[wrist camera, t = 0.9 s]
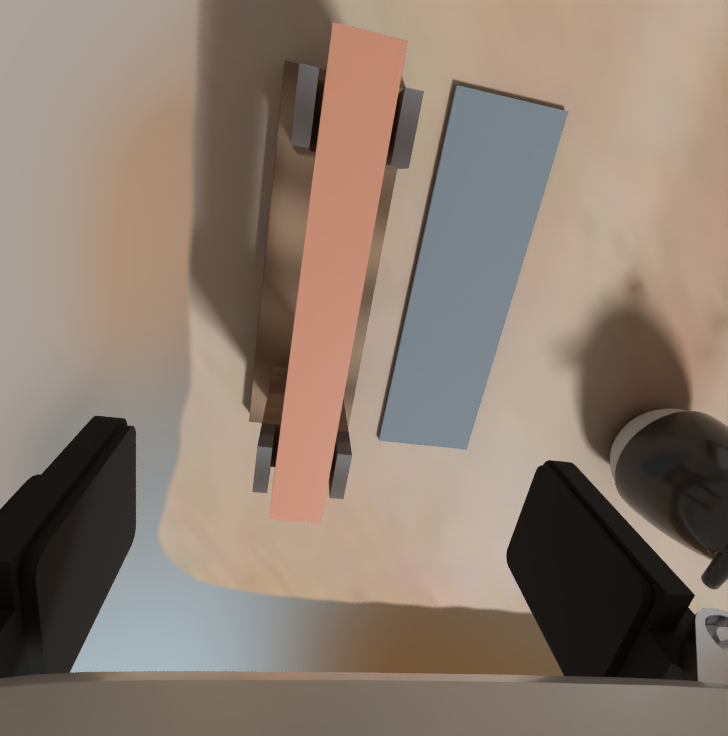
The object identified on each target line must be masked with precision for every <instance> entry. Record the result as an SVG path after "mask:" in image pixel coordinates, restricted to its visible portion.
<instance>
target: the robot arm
mask: <svg viewBox="0 0 728 736" xmlns="http://www.w3.org/2000/svg"><path fill="white" fill-rule="evenodd" d="M135 529H136V431H135V428H134V426H127V422H126V420H125V419H124V418H114V417H104V416H94V417H93V418H92V419H91V420H90V421H89V423H87V425H86V426H85V427H84V428H83V429H82V430H81V431H80V432H79V434H78V435H77V436H76V437H75V438H74V439H73V440H72V441H71V442H70V443H69V444H68V446H67V447H66V448H65V449H64V450H63V451H62V452H61V453H60V454H59V456H58V457H57V458H56V459H55V460H54V461H53V462H52V464H51V465H49V467H48V468H47V469H46V470H45V471H44V472H43V473H42V474H41V475H35V476H32V477H31V478H30V479H29V480H27V481H26V482H25V483H24V484H23V485H22V487H21V488H20V489H19V490H18V491H17V492H16V493H15V494H14V495H13V496H12V497H11V498H10V499H9V500H8V502H7V503H6V504H5V505H4V506H3V507H2V508H1V509H0V736H728V612H726V611H723V610H719V609H714V608H703V609H701V610H700V611H698V612H697V613H696V615H694V613H693V612H692V611H691V610H690V609H689V608H688V606H689V605H690V603H691V601H692V599H693V598H694V596H695V595H694V594H693V593H692V592H691V590H690V589H689V588H688V587H687V586H686V585H685V584H684V583H683V582H682V581H681V580H680V579H679V577H678V576H677V575H676V574H675V573H674V572H673V571H672V570H671V569H670V568H669V567H668V565H667V564H666V563H665V562H664V561H663V560H662V559H661V558H660V557H659V556H658V555H657V554H656V552H655V551H654V550H653V549H652V548H651V547H650V546H649V545H648V544H647V543H646V542H645V541H644V539H643V538H642V537H641V536H640V535H639V534H638V533H637V532H636V531H635V530H634V529H633V528H632V526H631V525H630V524H629V523H628V522H627V521H626V520H625V519H624V518H623V517H622V516H621V514H620V513H619V512H618V511H617V510H616V509H615V508H614V507H613V506H612V505H611V504H610V503H609V501H608V500H607V499H606V498H605V497H604V496H603V495H602V494H601V493H600V492H599V491H598V490H597V488H596V487H595V486H594V485H593V484H592V483H591V482H590V481H589V480H588V479H587V478H586V477H585V475H584V474H583V473H582V472H581V471H580V470H579V469H578V468H577V467H576V466H575V465H574V464H573V463H570V462H561V461H551V460H549V461H546V462H545V463H544V464H543V466H539V467H538V468H537V470H536V472H535V475H534V478H533V481H532V483H531V486H530V489H529V492H528V494H527V497H526V500H525V503H524V505H523V508H522V511H521V513H520V516H519V519H518V522H517V524H516V527H515V530H514V533H513V535H512V538H511V541H510V544H509V546H508V549H507V555H506V557H507V564H508V566H509V568H510V570H511V572H512V574H513V576H514V578H515V580H516V582H517V584H518V586H519V588H520V590H521V592H522V594H523V596H524V598H525V600H526V602H527V604H528V606H529V608H530V610H531V612H532V614H533V615H534V617H535V619H536V621H537V623H538V625H539V627H540V629H541V631H542V633H543V635H544V637H545V639H546V641H547V643H548V645H549V647H550V649H551V651H552V653H553V655H554V657H555V659H556V660H557V662H558V664H559V666H560V668H561V670H562V672H563V674H564V676H530V675H479V674H478V675H477V674H416V673H415V674H414V673H344V672H337V673H336V672H233V671H232V672H231V671H229V672H228V671H154V672H153V671H148V672H146V671H144V672H78V673H77V672H76V673H70V671H71V669H72V666H73V664H74V662H75V660H76V658H77V656H78V654H79V652H80V650H81V648H82V646H83V644H84V642H85V640H86V638H87V636H88V633H89V631H90V629H91V627H92V625H93V623H94V621H95V619H96V617H97V615H98V613H99V611H100V609H101V607H102V605H103V603H104V600H105V599H106V596H107V594H108V592H109V590H110V588H111V586H112V584H113V582H114V580H115V578H116V576H117V574H118V572H119V569H120V568H121V566H122V564H123V561H124V559H125V557H126V555H127V553H128V551H129V549H130V547H131V545H132V542H133V539H134V535H135Z"/></svg>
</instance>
